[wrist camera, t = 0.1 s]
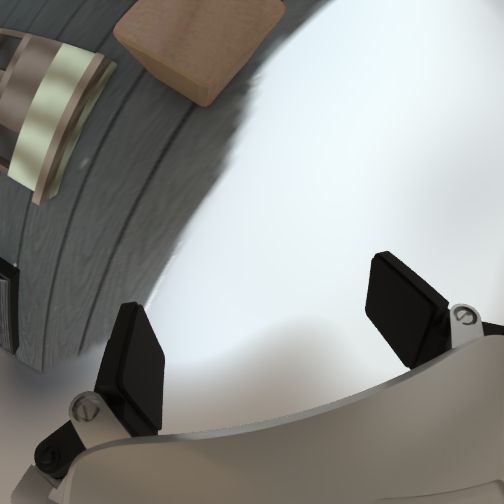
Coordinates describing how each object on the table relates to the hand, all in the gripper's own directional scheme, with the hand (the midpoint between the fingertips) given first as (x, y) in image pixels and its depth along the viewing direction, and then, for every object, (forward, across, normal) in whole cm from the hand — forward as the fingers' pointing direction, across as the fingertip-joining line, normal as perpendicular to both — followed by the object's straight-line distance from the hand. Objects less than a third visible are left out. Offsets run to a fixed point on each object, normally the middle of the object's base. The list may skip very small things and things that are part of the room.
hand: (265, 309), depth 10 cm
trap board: (+31, +34, -24) cm, 52 cm away
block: (+31, 0, -16) cm, 35 cm away
